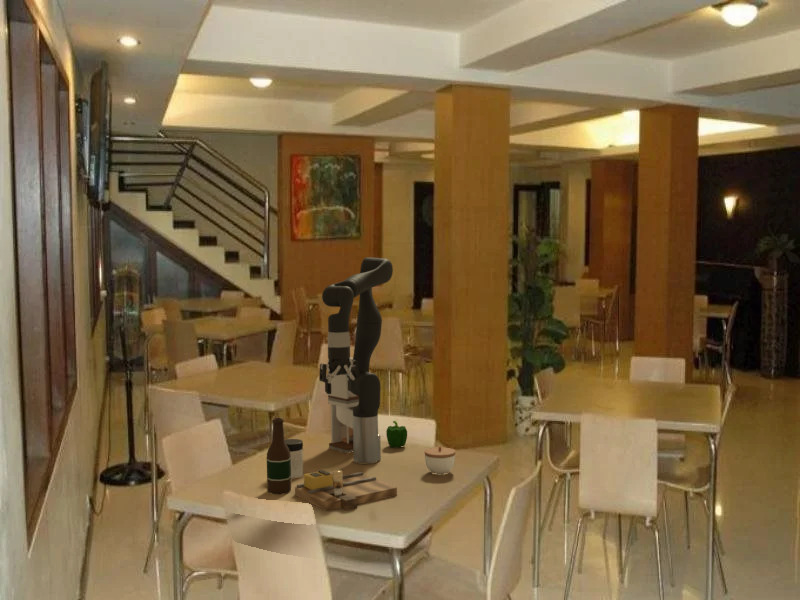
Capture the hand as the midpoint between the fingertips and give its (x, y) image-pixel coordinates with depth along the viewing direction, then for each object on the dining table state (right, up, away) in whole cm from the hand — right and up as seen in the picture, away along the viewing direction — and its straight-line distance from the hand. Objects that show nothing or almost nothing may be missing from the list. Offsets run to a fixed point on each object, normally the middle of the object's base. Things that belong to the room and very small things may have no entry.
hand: (339, 392), depth 288 cm
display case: (0, -27, +45) cm, 53 cm away
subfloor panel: (+3, -31, -15) cm, 35 cm away
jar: (-17, -30, +8) cm, 36 cm away
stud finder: (-6, -29, -15) cm, 33 cm away
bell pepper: (+19, -27, +47) cm, 58 cm away
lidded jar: (+34, -29, +9) cm, 46 cm away
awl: (+1, -32, -23) cm, 39 cm away
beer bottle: (-19, -31, -10) cm, 38 cm away
